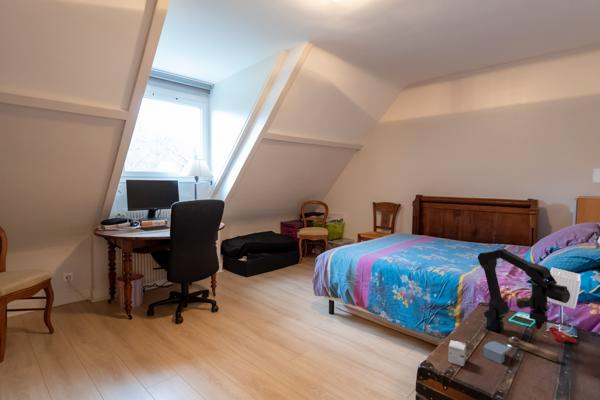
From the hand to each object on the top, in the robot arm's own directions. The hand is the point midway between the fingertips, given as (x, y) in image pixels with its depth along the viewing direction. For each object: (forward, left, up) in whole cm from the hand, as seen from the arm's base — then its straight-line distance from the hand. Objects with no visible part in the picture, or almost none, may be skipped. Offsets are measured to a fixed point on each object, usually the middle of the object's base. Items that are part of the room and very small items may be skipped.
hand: (538, 328), depth 141 cm
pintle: (-7, -6, -9) cm, 13 cm away
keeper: (-7, -22, -9) cm, 24 cm away
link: (0, -5, -9) cm, 10 cm away
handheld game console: (-16, +27, -10) cm, 33 cm away
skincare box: (-15, -39, -10) cm, 42 cm away
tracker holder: (+3, +20, -10) cm, 23 cm away
